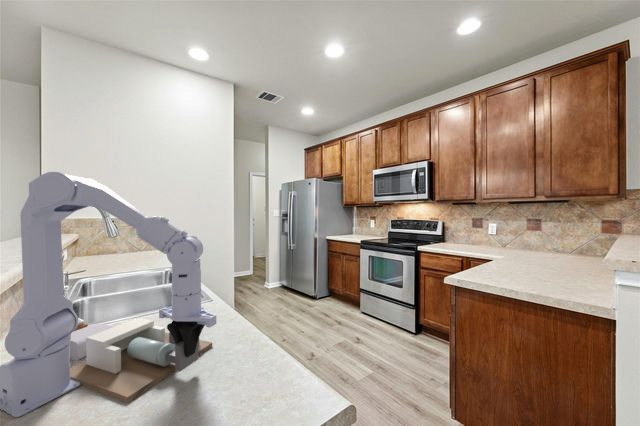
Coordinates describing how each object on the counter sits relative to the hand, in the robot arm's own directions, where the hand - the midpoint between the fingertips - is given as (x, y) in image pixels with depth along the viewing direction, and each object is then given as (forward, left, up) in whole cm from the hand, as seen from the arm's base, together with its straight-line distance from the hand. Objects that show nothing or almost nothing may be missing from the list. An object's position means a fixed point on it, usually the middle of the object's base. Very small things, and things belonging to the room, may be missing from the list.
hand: (187, 353), depth 58 cm
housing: (+2, +16, -4) cm, 17 cm away
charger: (+3, +35, -5) cm, 35 cm away
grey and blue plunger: (0, +8, -4) cm, 9 cm away
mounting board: (+1, +15, -5) cm, 16 cm away
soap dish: (0, +49, -5) cm, 49 cm away
